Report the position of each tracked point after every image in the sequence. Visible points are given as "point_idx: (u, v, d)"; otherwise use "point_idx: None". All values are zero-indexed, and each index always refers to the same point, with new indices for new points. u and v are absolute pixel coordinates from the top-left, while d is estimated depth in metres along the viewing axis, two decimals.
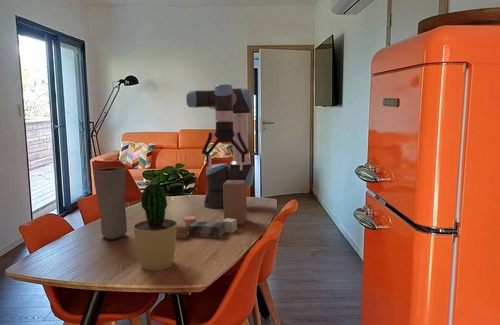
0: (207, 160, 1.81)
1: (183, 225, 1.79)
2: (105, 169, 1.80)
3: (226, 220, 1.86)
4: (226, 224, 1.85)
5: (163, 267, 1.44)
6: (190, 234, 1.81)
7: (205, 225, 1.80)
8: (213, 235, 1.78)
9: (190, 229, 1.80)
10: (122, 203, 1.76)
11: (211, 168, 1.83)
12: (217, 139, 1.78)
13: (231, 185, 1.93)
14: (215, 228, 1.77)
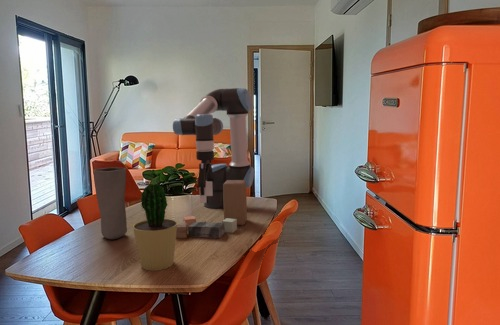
0: None
1: (183, 225, 1.79)
2: (105, 169, 1.80)
3: (226, 220, 1.86)
4: (226, 224, 1.85)
5: (163, 267, 1.44)
6: (190, 234, 1.80)
7: (205, 225, 1.79)
8: (213, 236, 1.77)
9: (190, 229, 1.80)
10: (122, 203, 1.76)
11: (210, 194, 1.87)
12: None
13: (231, 185, 1.93)
14: (215, 229, 1.76)
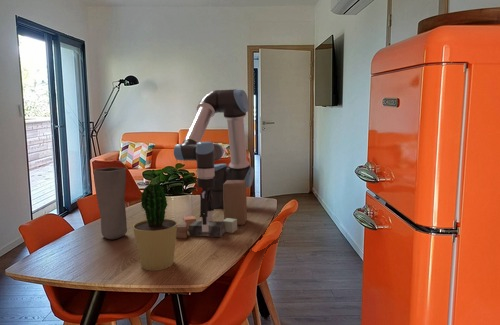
0: None
1: (183, 225, 1.79)
2: (105, 169, 1.80)
3: (226, 220, 1.86)
4: (226, 224, 1.85)
5: (163, 267, 1.44)
6: (191, 234, 1.81)
7: None
8: (214, 234, 1.78)
9: (191, 229, 1.80)
10: (122, 203, 1.76)
11: None
12: None
13: (231, 185, 1.93)
14: (216, 227, 1.78)
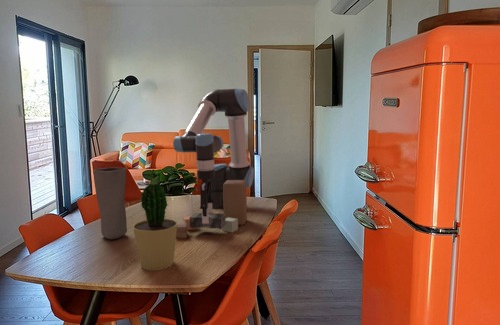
0: None
1: (183, 225, 1.79)
2: (105, 169, 1.80)
3: (227, 219, 1.87)
4: (226, 223, 1.86)
5: (163, 267, 1.44)
6: (191, 225, 1.81)
7: None
8: (215, 226, 1.78)
9: (191, 220, 1.80)
10: (122, 203, 1.76)
11: None
12: None
13: (231, 185, 1.93)
14: (217, 219, 1.78)
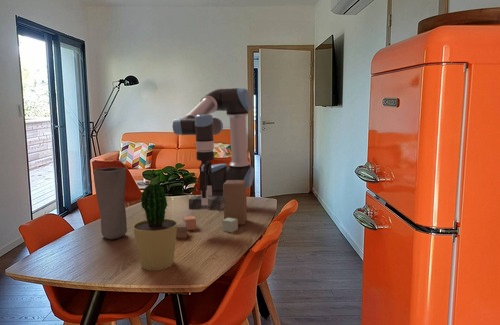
0: None
1: (183, 225, 1.79)
2: (105, 169, 1.80)
3: (226, 219, 1.87)
4: (226, 223, 1.86)
5: (163, 267, 1.44)
6: (190, 207, 1.79)
7: None
8: (214, 208, 1.77)
9: (190, 202, 1.79)
10: (122, 203, 1.76)
11: None
12: None
13: (231, 185, 1.93)
14: (216, 201, 1.76)
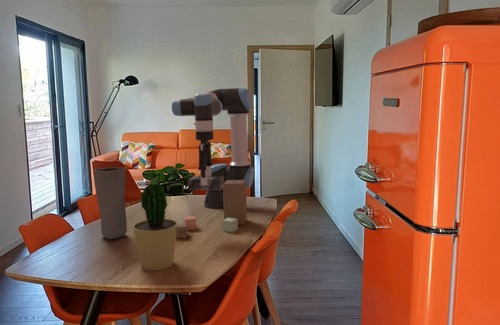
0: None
1: (183, 225, 1.79)
2: (105, 169, 1.80)
3: (226, 219, 1.87)
4: (226, 223, 1.86)
5: (163, 267, 1.44)
6: (189, 187, 1.78)
7: None
8: (213, 188, 1.76)
9: (190, 182, 1.78)
10: (122, 203, 1.76)
11: None
12: None
13: (231, 185, 1.93)
14: (216, 181, 1.75)
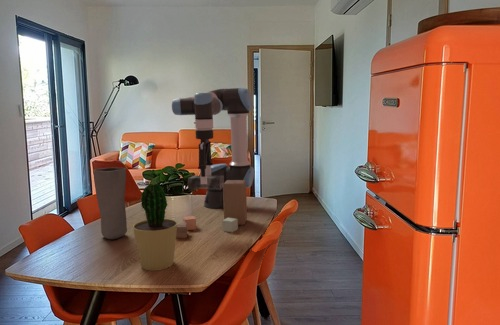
0: None
1: (183, 225, 1.79)
2: (105, 169, 1.80)
3: (226, 219, 1.87)
4: (226, 223, 1.86)
5: (163, 267, 1.44)
6: (189, 186, 1.78)
7: None
8: (213, 187, 1.76)
9: (189, 181, 1.77)
10: (122, 203, 1.76)
11: None
12: None
13: (231, 185, 1.93)
14: (216, 180, 1.75)
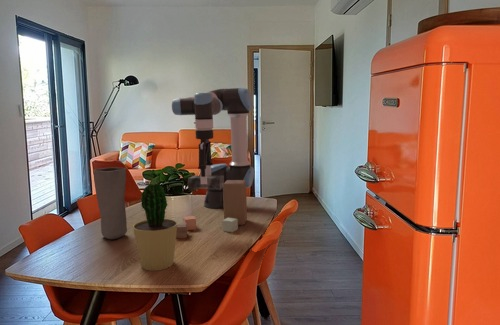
0: None
1: (183, 225, 1.79)
2: (105, 169, 1.80)
3: (226, 219, 1.87)
4: (226, 223, 1.86)
5: (163, 267, 1.44)
6: (189, 186, 1.78)
7: None
8: (213, 187, 1.76)
9: (189, 181, 1.77)
10: (122, 203, 1.76)
11: None
12: None
13: (231, 185, 1.93)
14: (216, 180, 1.75)
